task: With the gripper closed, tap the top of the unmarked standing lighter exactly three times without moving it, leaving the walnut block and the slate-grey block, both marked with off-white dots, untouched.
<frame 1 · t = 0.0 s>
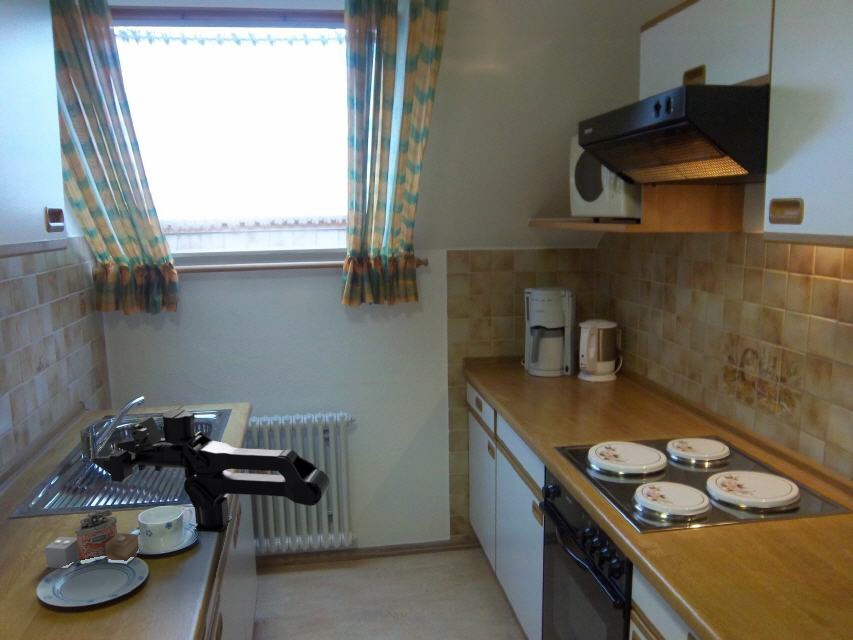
hand: (105, 452, 158), 17 cm above the worktop, tool horizontal, fingers open, 9 cm apart
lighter: (99, 557, 144), on the worktop
walnut block: (123, 558, 143), on the worktop
grey block: (64, 562, 142), on the worktop
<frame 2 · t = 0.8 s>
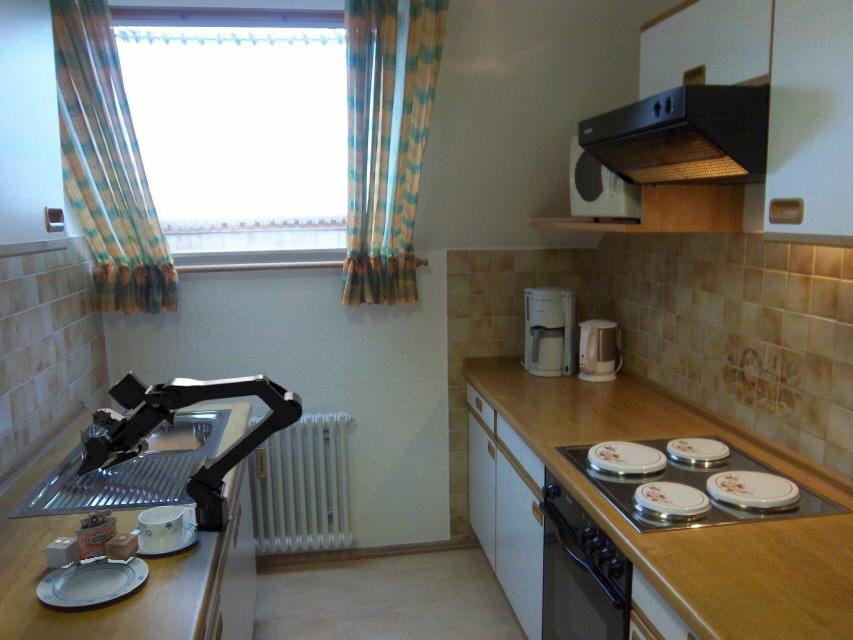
hand: (90, 471, 150), 15 cm above the worktop, tool tilted 50°, fingers open, 9 cm apart
nothing on the worktop moved.
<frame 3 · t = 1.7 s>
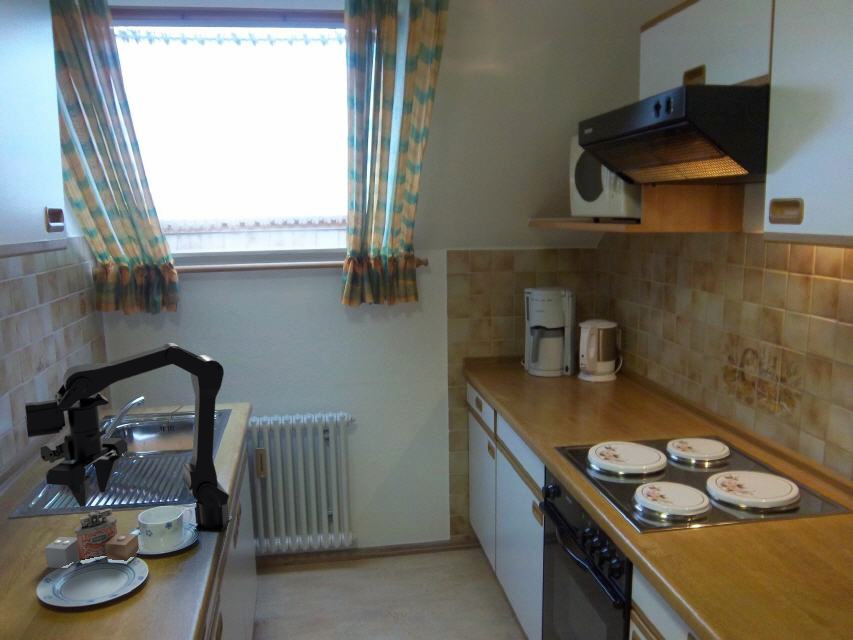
hand: (92, 498, 142), 13 cm above the worktop, tool pointing down, fingers open, 6 cm apart
nothing on the worktop moved.
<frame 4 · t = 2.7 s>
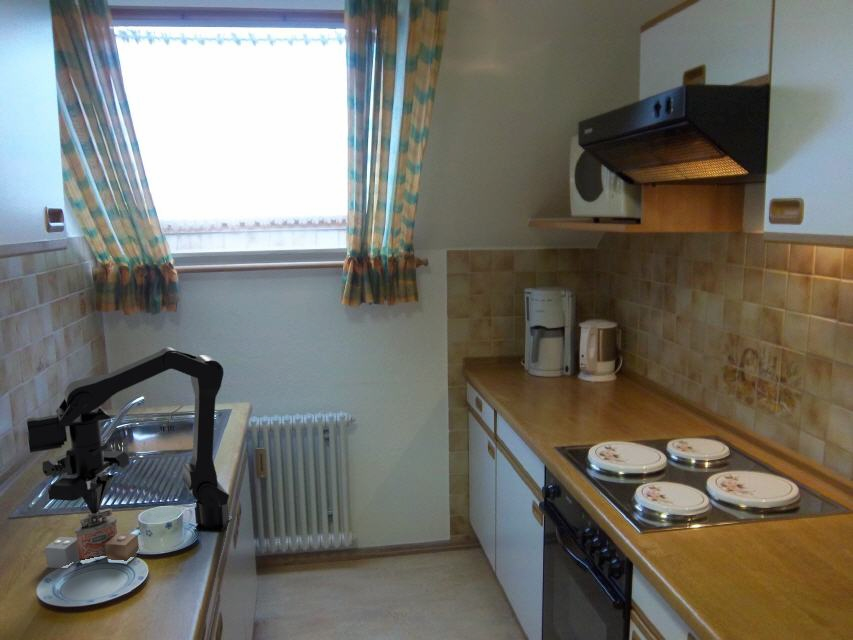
hand: (95, 512, 142), 10 cm above the worktop, tool pointing down, fingers closed, pressing on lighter
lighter: (99, 557, 144), on the worktop, touching gripper
everything else where it was.
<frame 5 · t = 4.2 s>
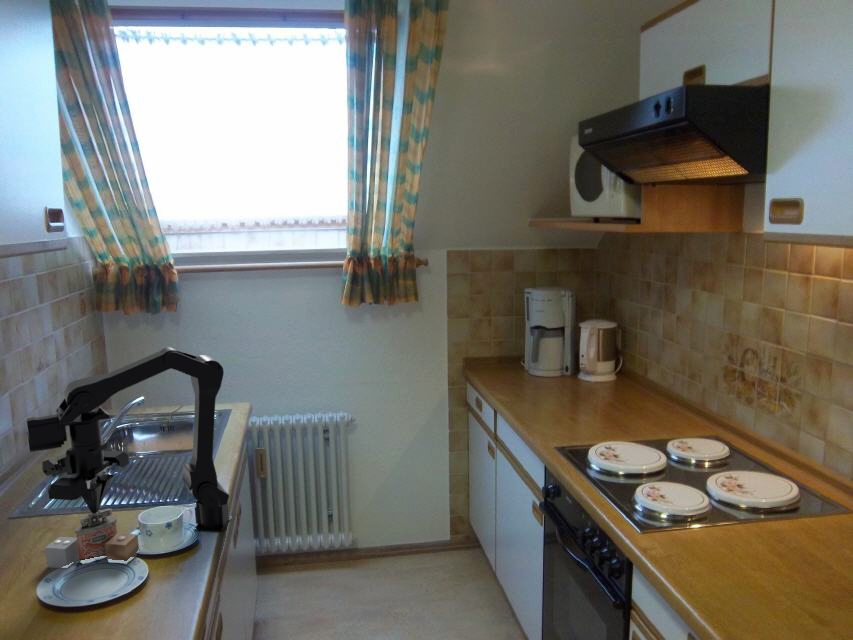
hand: (94, 512, 142), 10 cm above the worktop, tool pointing down, fingers closed
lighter: (99, 557, 144), on the worktop
everything else where it was.
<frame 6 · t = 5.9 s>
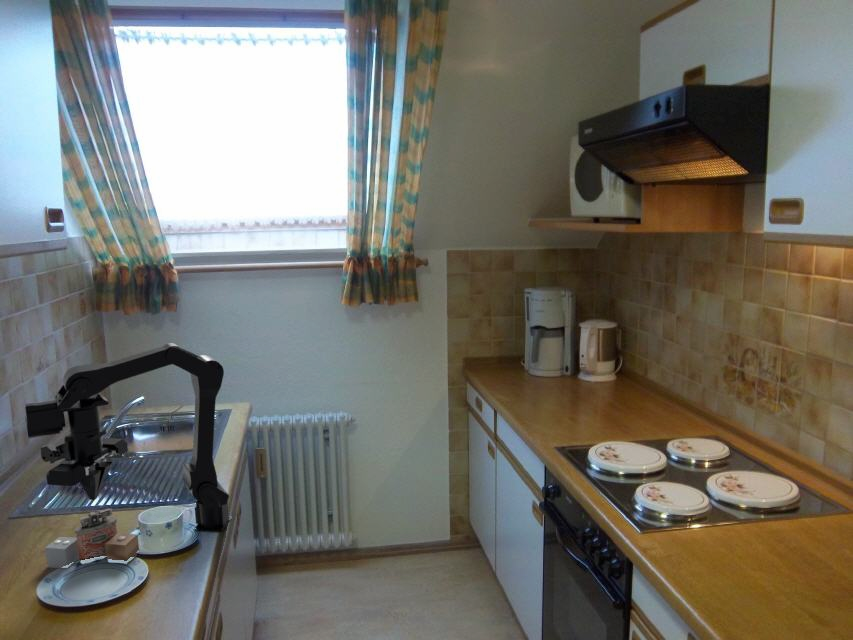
hand: (93, 499, 142), 13 cm above the worktop, tool pointing down, fingers closed
nothing on the worktop moved.
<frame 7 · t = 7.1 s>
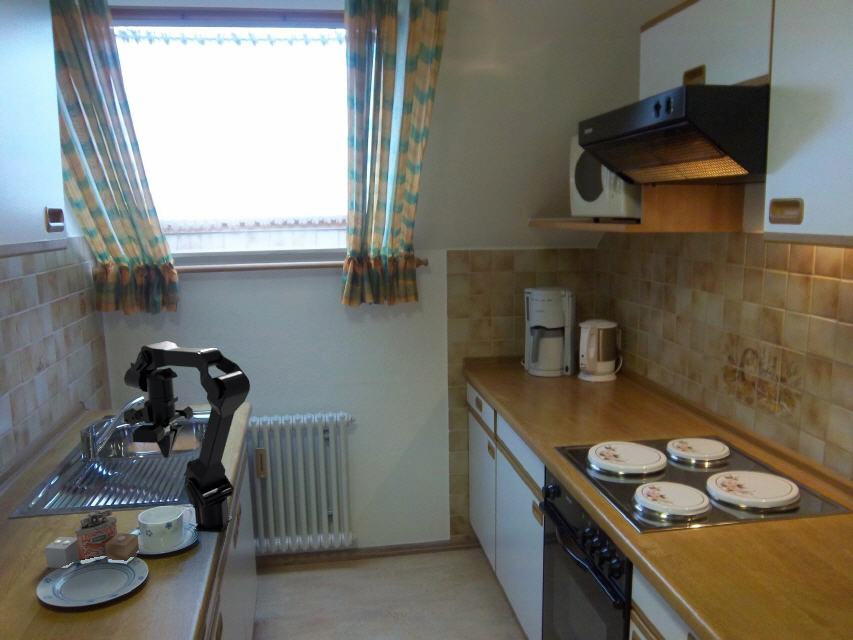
hand: (166, 457, 163), 13 cm above the worktop, tool pointing down, fingers closed
nothing on the worktop moved.
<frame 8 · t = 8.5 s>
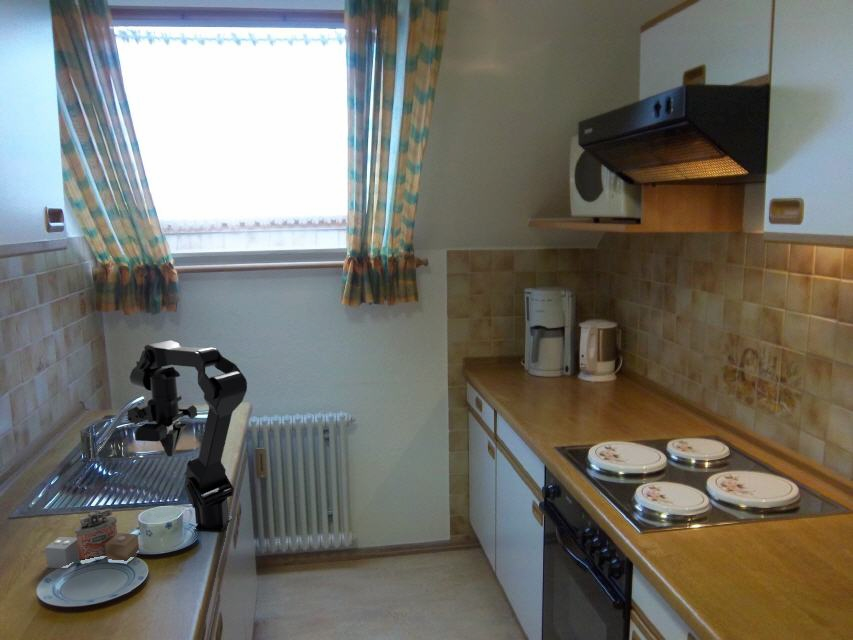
hand: (170, 455, 164), 13 cm above the worktop, tool pointing down, fingers closed
nothing on the worktop moved.
at the end: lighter moved 0.2 cm from its start; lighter tilted 0°; grey block moved 0.1 cm from its start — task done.
